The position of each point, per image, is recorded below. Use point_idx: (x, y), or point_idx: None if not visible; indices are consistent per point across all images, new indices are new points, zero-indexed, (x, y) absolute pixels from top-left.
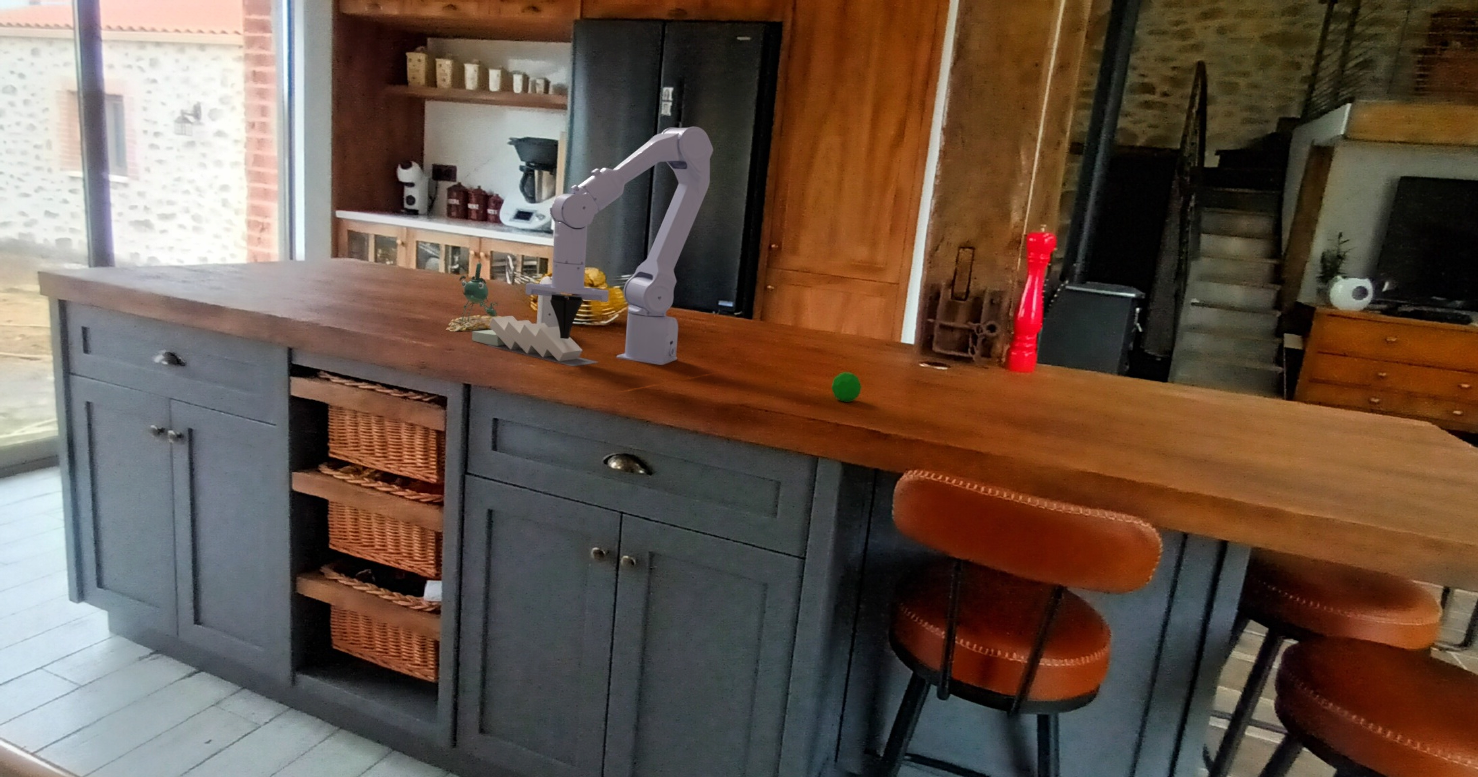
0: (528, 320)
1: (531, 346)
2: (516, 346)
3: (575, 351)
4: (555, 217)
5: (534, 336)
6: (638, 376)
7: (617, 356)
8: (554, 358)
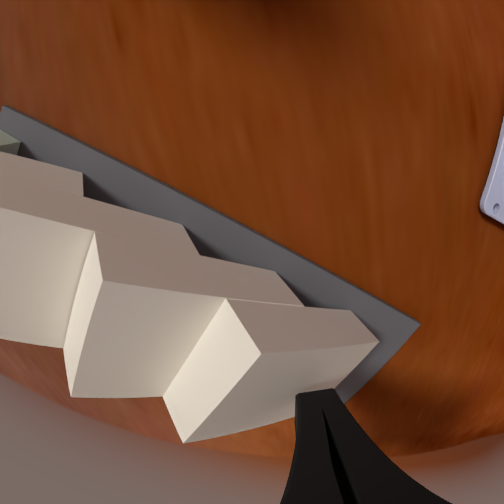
0: None
1: None
2: None
3: (350, 369)
4: None
5: (155, 392)
6: (473, 383)
7: (485, 213)
8: None
